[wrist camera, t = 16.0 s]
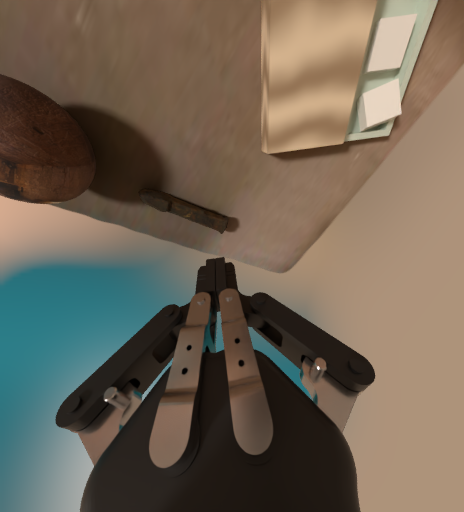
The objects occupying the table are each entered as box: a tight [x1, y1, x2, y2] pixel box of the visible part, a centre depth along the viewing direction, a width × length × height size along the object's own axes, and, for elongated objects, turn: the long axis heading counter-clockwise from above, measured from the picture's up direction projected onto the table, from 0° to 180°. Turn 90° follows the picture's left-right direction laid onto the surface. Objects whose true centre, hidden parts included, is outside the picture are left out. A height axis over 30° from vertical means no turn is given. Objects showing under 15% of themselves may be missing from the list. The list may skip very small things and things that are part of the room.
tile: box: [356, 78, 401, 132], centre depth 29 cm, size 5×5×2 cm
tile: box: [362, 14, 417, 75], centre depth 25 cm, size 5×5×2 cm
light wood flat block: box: [261, 0, 377, 154], centre depth 26 cm, size 18×13×5 cm
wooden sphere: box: [0, 74, 96, 204], centre depth 24 cm, size 15×15×15 cm
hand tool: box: [139, 189, 228, 234], centre depth 37 cm, size 19×4×5 cm, turn 62°
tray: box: [344, 0, 438, 142], centre depth 27 cm, size 18×9×2 cm, turn 6°
